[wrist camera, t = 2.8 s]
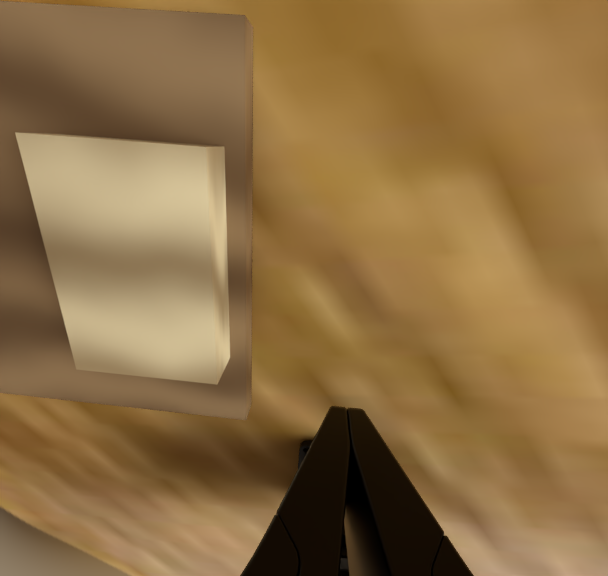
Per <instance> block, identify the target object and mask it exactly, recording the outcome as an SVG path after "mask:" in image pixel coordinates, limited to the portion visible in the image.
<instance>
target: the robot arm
mask: <svg viewBox="0 0 608 576" xmlns="http://www.w3.org/2000/svg"><path fill="white" fill-rule="evenodd" d="M240 576H474V575H473V574H472V573H471V571H470V570H469V568H468V567H467V565H466V564H465V562H464V561H463V560H462V558H461V557H460V555H459V554H458V552H457V551H456V549H455V548H454V546H453V545H452V543H451V541H450V540H449V538H448V537H447V536H444V531H443V530H442V528H441V527H440V525H439V524H438V522H437V520H436V519H435V517H434V516H433V514H432V513H431V511H430V510H429V508H428V507H427V505H426V504H425V502H424V501H423V499H422V498H421V496H420V495H419V493H418V492H417V490H416V489H415V487H414V486H413V484H412V483H411V481H410V480H409V478H408V477H407V475H406V474H405V472H404V470H403V469H402V467H401V466H400V464H399V463H398V461H397V460H396V458H395V457H394V455H393V454H392V452H391V451H390V449H389V448H388V446H387V445H386V443H385V442H384V440H383V439H382V437H381V436H380V434H379V433H378V431H377V430H376V428H375V427H374V425H373V424H372V422H371V420H370V419H369V417H368V416H367V414H366V413H365V411H364V410H362V409H358V408H348V409H346V408H345V407H339V406H331V407H330V409H329V411H328V413H327V415H326V417H325V418H324V420H323V422H322V424H321V426H320V428H319V430H318V432H317V434H316V436H315V438H314V440H313V442H312V441H304V442H302V443H301V444H300V452H299V463H298V471H297V473H296V475H295V477H294V479H293V481H292V483H291V485H290V487H289V489H288V491H287V493H286V495H285V497H284V499H283V500H282V502H281V504H280V506H279V508H278V510H277V513H276V515H275V516H274V518H273V520H272V521H271V523H270V525H269V527H268V529H267V531H266V533H265V535H264V537H263V538H262V540H261V542H260V544H259V546H258V547H257V549H256V551H255V553H254V555H253V556H252V558H251V559H250V561H249V563H248V564H247V566H246V567H245V569H244V571H243V572H242V574H241V575H240Z"/></svg>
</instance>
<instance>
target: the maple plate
mask: <svg viewBox="0 0 608 576" xmlns="http://www.w3.org/2000/svg"><path fill="white" fill-rule="evenodd" d="M15 134H16V138H17V142H18V146H19V150H20V153H21V157H22V161H23V165H24V169H25V173H26V177H27V180H28V184H29V188H30V192H31V196H32V200H33V204H34V208H35V211H36V215H37V219H38V223H39V227H40V231H41V235H42V238H43V242H44V246H45V250H46V254H47V258H48V262H49V265H50V269H51V273H52V277H53V281H54V285H55V289H56V293H57V296H58V300H59V304H60V308H61V312H62V316H63V320H64V323H65V327H66V331H67V335H68V339H69V343H70V347H71V350H72V354H73V358H74V362H75V366H76V369H77V370H87V371H96V372H105V373H114V374H124V375H133V376H142V377H152V378H161V379H170V380H180V381H189V382H198V383H207V384H218V382H219V380H220V378H221V376H222V374H223V372H224V369H225V367H226V365H227V363H228V361H229V359H230V333H229V296H228V260H227V223H226V186H225V149H224V146H212V145H199V144H185V143H172V142H159V141H146V140H133V139H119V138H106V137H93V136H80V135H66V134H45V133H17V132H15Z"/></svg>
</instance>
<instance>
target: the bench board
mask: <svg viewBox="0 0 608 576" xmlns="http://www.w3.org/2000/svg"><path fill="white" fill-rule="evenodd" d="M15 132H17V133H45V134H66V135H80V136H93V137H106V138H119V139H133V140H146V141H159V142H172V143H185V144H199V145H212V146H224V149H225V186H226V223H227V260H228V296H229V333H230V359H229V361H228V363H227V365H226V367H225V369H224V372H223V374H222V376H221V378H220V380H219V382H218V384H207V383H198V382H189V381H180V380H170V379H161V378H152V377H142V376H133V375H124V374H114V373H105V372H96V371H87V370H77V369H76V366H75V362H74V358H73V354H72V350H71V347H70V343H69V339H68V335H67V331H66V327H65V323H64V320H63V316H62V312H61V308H60V304H59V300H58V296H57V293H56V289H55V285H54V281H53V277H52V273H51V269H50V265H49V262H48V258H47V254H46V250H45V246H44V242H43V238H42V235H41V231H40V227H39V223H38V219H37V215H36V211H35V208H34V204H33V200H32V196H31V192H30V188H29V184H28V180H27V177H26V173H25V169H24V165H23V161H22V157H21V153H20V150H19V146H18V142H17V138H16V134H15ZM252 133H253V26H252V25H251V23H250V22H249V20H248V19H247V18H246V16H245V15H233V14H216V13H198V12H181V11H164V10H147V9H129V8H112V7H95V6H77V5H60V4H43V3H26V2H8V1H0V393H7V394H16V395H25V396H34V397H43V398H52V399H61V400H70V401H79V402H88V403H97V404H106V405H115V406H124V407H133V408H142V409H150V410H159V411H168V412H177V413H186V414H195V415H204V416H213V417H222V418H231V419H240V420H247V417H248V413H249V410H250V407H251V365H252Z"/></svg>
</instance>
